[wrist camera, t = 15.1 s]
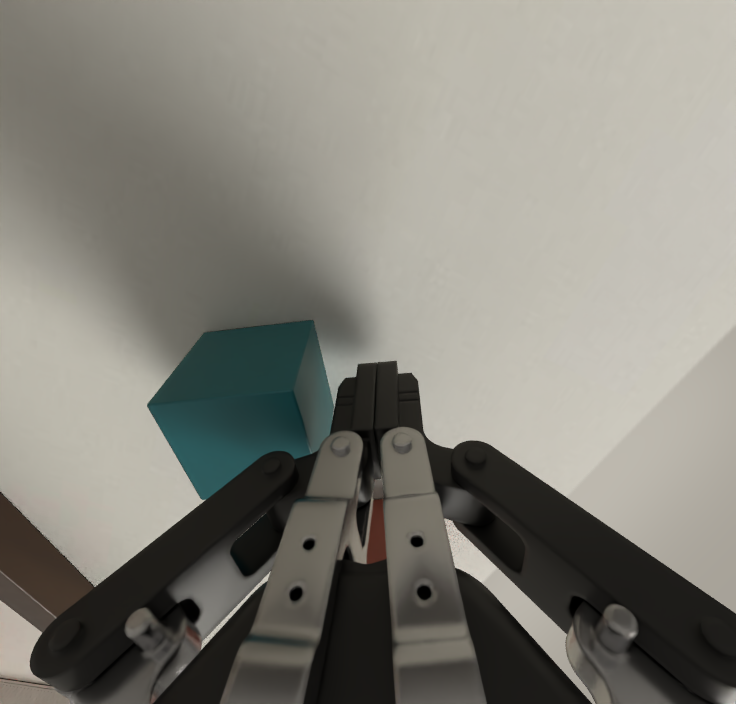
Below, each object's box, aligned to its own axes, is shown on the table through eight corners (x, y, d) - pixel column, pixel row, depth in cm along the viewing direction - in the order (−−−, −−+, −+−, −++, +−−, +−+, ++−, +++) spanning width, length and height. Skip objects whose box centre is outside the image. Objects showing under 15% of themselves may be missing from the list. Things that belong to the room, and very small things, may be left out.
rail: (-437, 51, 10) (-647, 33, 8) (180, 673, 33) (167, 711, 31) (-496, 63, 10) (-719, 47, 8) (159, 674, 33) (144, 711, 31)
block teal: (313, 319, 14) (293, 389, 11) (334, 406, 17) (323, 490, 13) (203, 332, 15) (145, 405, 11) (238, 416, 17) (201, 500, 13)
